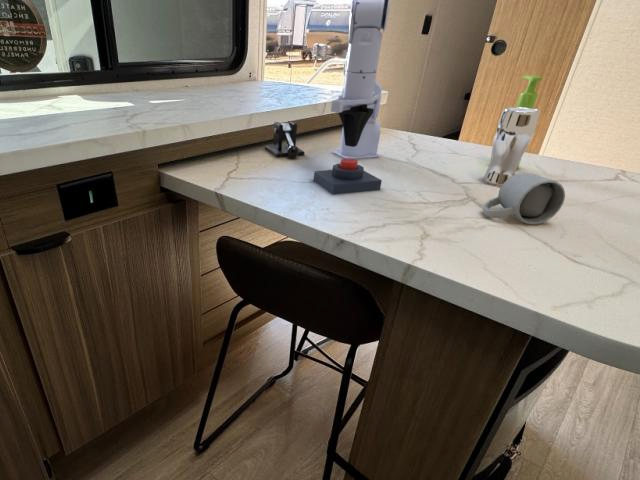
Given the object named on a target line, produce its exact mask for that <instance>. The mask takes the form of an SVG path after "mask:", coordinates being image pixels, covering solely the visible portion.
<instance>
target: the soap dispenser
mask: <svg viewBox="0 0 640 480" xmlns="http://www.w3.org/2000/svg"><path fill="white" fill-rule="evenodd" d="M521 79H522V80H529V81H528V83H527V86H526V89H525V90H524V91H523V92H520V94H519V98H518V100H517V104H516V106H515V107H525V108H533V109H534V106H535V103H536V101H537V98H538V95H539V93H537V91H536V88H537V86H538V82H542V81H543V77H541V76H539V75H523V76H521ZM521 161H522V158H521V159H520V161H519V163H518V165H517V168H516V171H517V170H518V169H519V166H520V163H521Z"/></svg>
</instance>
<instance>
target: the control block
mask: <svg viewBox="0 0 640 480" xmlns="http://www.w3.org/2000/svg"><path fill="white" fill-rule="evenodd" d="M313 172H314V173H313V182H315V184H317V185H319V186H320V187H322V188H323V189H324V190H325V191H327V192H328V193H330V194H331V195H333V196H334V195H344V194H354V193H356V194H357V193H364V192H365V193H366V192H374V191H376V192H377V191H380V190H381V187H382V181H383V180H382V179H380V178H378V177H377V176H375V175H373V174H371V173H369V172H367V171H366V170H365V167H364V166H362V165H361V164H357V169H356V170H344V169H340V163H336V164H333V165H332V169H325V170H315V171H313Z"/></svg>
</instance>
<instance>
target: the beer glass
mask: <svg viewBox="0 0 640 480" xmlns="http://www.w3.org/2000/svg"><path fill="white" fill-rule="evenodd" d="M540 115H541V109H538V108H534V107H533V108H525V107H516V106H506V107H504V108H503V110H502V112H501V115H500V118H499V120H498V123H497V126H496V129H495V132H494V136H493V142H492V148H491V156H490V161H489V165H488V168H487V170H486V172H485V173H484V175H483V178H482V181H483V183H485V184H489V185H491V186H498V187H501V186H502V185H503V183H504V182H505V181H506V180H507V179H508V178H510V177H511V176H513V175H515V174H516V171H517V170H516V168H517V165H518V163H519V161H520V159H521V160H522V159H523V158H522V157H523V156H524V155H525V152H526V150H527V149H528V147H529V146H530V143H531V141H532V139H533V137H534V134H535V132H536V128H537V124H538V121H539V117H540ZM520 162H521V161H520ZM519 164H520V163H519Z"/></svg>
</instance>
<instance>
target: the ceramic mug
mask: <svg viewBox="0 0 640 480" xmlns="http://www.w3.org/2000/svg"><path fill="white" fill-rule="evenodd" d="M497 195H498V196H496V197H494V198H492V199H490V200H487V201H486V202H485V203H484V204H483V205H482V209H483V215H484V216H485V217H487V218H489V219H503V218H507V217H511V216H513V217H515V218H516V219H517V220H519V221H520V222H522V223H524V224H527V225H540V224H543V223H546V222H547V221H550V220H551V219H552V218H553V217H555V216H556V214H557V213H559V211H560V210H561V208H562V207H563V205H564V202H565V198H566V191H565V188H564V185H562V183H560V182H558V181H556V180H553V179H550V178H548V177H544V176H541V175H539V174H536V173H533V172H532V173H531V172H520V173H515V175H513V176H511V177H510V178H508V179H507V180H506V181H505V182H504V183H503V185H502V186H500V188H499V190H498V194H497ZM498 205H500V206H501V207H502V209H491V208H493V207H497V206H498Z"/></svg>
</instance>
